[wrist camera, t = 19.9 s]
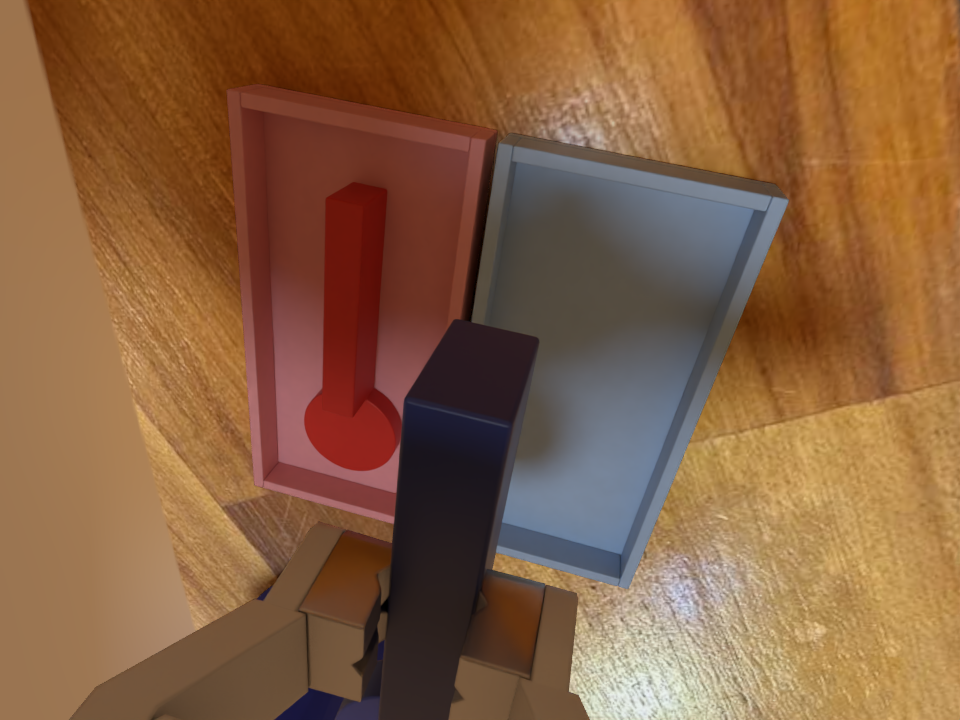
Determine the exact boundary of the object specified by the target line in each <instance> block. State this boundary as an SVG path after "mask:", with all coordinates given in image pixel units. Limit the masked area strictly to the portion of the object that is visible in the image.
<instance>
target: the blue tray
mask: <svg viewBox="0 0 960 720" xmlns="http://www.w3.org/2000/svg"><path fill="white" fill-rule="evenodd" d="M788 202H789V199H788V198H787V197H786V196H785V195H784V194H783V192H782V191H781V190H780V189H779V188H778V186H777V185H776V184H772V183H766V182H761V181H756V180H751V179H746V178H741V177H735V176H730V175H725V174H720V173H715V172H710V171H705V170H699V169H694V168H689V167H684V166H679V165H674V164H669V163H663V162H658V161H653V160H648V159H643V158H638V157H632V156H627V155H622V154H617V153H612V152H607V151H602V150H596V149H591V148H586V147H581V146H576V145H571V144H565V143H560V142H555V141H550V140H545V139H540V138H535V137H529V136H524V135H519V134H514V133H509V134H508V135H507V136H506V137H505V138H504V139H503V140H502V141H500V142H499V144H498V149H497V156H496V162H495V169H494V175H493V182H492V189H491V195H490V202H489V208H488V215H487V221H486V228H485V235H484V241H483V248H482V254H481V261H480V267H479V274H478V281H477V287H476V294H475V300H474V307H473V313H472V320H471V322H473V323H478V324H482V325H487V326H491V327H495V328H500V329H504V330H509V331H513V332H518V333H522V334H527V335H531V336H535V337H537V338H539V342H540V343H539V348H538V353H537V358H536V362H535V367H534V372H533V377H532V382H531V386H530V391H529V396H528V401H527V405H526V410H525V415H524V420H523V425H522V429H521V434H520V439H519V444H518V448H517V453H516V458H515V463H514V468H513V472H512V477H511V482H510V487H509V491H508V496H507V501H506V506H505V511H504V515H503V520H502V525H501V530H500V534H499V539H498V544H497V549H496V553H500V554H503V555H507V556H510V557H514V558H518V559H521V560H525V561H528V562H532V563H535V564H539V565H543V566H546V567H550V568H553V569H557V570H561V571H564V572H568V573H571V574H575V575H579V576H582V577H586V578H589V579H593V580H597V581H600V582H604V583H607V584H611V585H615V586H619V587H622V588H625V589H629V586H630V584H631V582H632V579H633V577H634V574H635V572H636V569H637V567H638V565H639V562H640V560H641V557H642V555H643V553H644V550H645V548H646V545H647V543H648V540H649V538H650V536H651V533H652V531H653V528H654V526H655V524H656V521H657V519H658V516H659V514H660V511H661V509H662V507H663V504H664V502H665V499H666V497H667V494H668V492H669V490H670V487H671V485H672V482H673V480H674V478H675V475H676V473H677V470H678V468H679V465H680V463H681V461H682V458H683V456H684V453H685V451H686V449H687V446H688V444H689V441H690V439H691V436H692V434H693V432H694V429H695V427H696V424H697V422H698V420H699V417H700V415H701V412H702V410H703V407H704V405H705V403H706V400H707V398H708V395H709V393H710V390H711V388H712V386H713V383H714V381H715V378H716V376H717V374H718V371H719V369H720V366H721V364H722V361H723V359H724V357H725V354H726V352H727V349H728V347H729V345H730V342H731V340H732V337H733V335H734V332H735V330H736V328H737V325H738V323H739V320H740V318H741V316H742V313H743V311H744V308H745V306H746V303H747V301H748V299H749V296H750V294H751V291H752V289H753V286H754V284H755V282H756V279H757V277H758V274H759V272H760V270H761V267H762V265H763V262H764V260H765V257H766V255H767V253H768V250H769V248H770V245H771V243H772V241H773V238H774V236H775V233H776V231H777V228H778V226H779V224H780V221H781V219H782V216H783V214H784V212H785V209H786V207H787V204H788Z"/></svg>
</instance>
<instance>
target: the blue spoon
mask: <svg viewBox="0 0 960 720" xmlns="http://www.w3.org/2000/svg"><path fill="white" fill-rule="evenodd" d="M539 343H540V342H539V338H537V337H535V336H531V335H527V334H522V333H518V332H513V331H509V330H504V329H500V328H495V327H491V326H487V325H482V324H478V323H473V322H469V321H464V320H460V319H454V320H453V321H452V323H451V324H450V326H449V328H448V329H447V331H446V332H445V334H444V336H443V337H442V339H441V340H440V342H439V344H438V345H437V347H436V349H435V350H434V352H433V353H432V355H431V357H430V358H429V360H428V361H427V363H426V365H425V366H424V368H423V369H422V371H421V373H420V374H419V376H418V377H417V379H416V381H415V382H414V384H413V385H412V387H411V389H410V390H409V392H408V393H407V395H406V397H405V398H404V403H403V416H402V428H401V441H400V453H399V466H398V478H397V491H396V503H395V516H394V528H393V541H392V553H391V581H390V595H389V597H388V603H387V611H388V620H387V632H386V639H385V640H384V653H383V660H379V661H377V664H376V666H375V669H374V671H373V674H372V676H371V678H370V681H369V683H368V686H367V688H366V691H365V693H364V695H363V698H362V700H361V702H357V701H354V700H350V699H347V698H344V699H343V701H342V703H341V705H340V708H339V710H338V712H337V715H336V717H335V720H449V714H450V707H451V703H452V699H453V695H454V691H455V686H454V685H455V680H456V675H457V670H458V664H459V659H460V655H461V651H462V648H463V644H464V641H465V637H466V633H467V630H468V626H469V622H470V619H471V616H472V615H473V614H474V613H475V608H476V603H477V598H478V593H479V590H480V589H481V587H482V584H483V580H484V577H485V573H486V571H487V569H490V570H492V568H493V563H494V558H495V554H496V549H497V544H498V539H499V534H500V530H501V525H502V520H503V515H504V511H505V506H506V501H507V496H508V491H509V487H510V482H511V477H512V472H513V468H514V463H515V458H516V453H517V448H518V444H519V439H520V434H521V429H522V425H523V420H524V415H525V410H526V405H527V401H528V396H529V391H530V386H531V382H532V377H533V372H534V367H535V362H536V358H537V353H538V348H539Z"/></svg>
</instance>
